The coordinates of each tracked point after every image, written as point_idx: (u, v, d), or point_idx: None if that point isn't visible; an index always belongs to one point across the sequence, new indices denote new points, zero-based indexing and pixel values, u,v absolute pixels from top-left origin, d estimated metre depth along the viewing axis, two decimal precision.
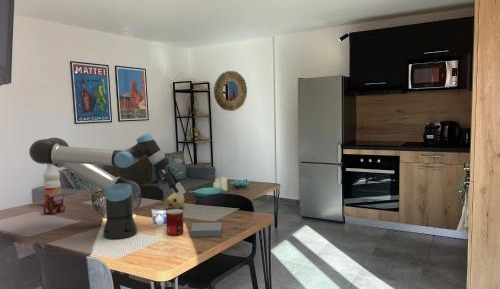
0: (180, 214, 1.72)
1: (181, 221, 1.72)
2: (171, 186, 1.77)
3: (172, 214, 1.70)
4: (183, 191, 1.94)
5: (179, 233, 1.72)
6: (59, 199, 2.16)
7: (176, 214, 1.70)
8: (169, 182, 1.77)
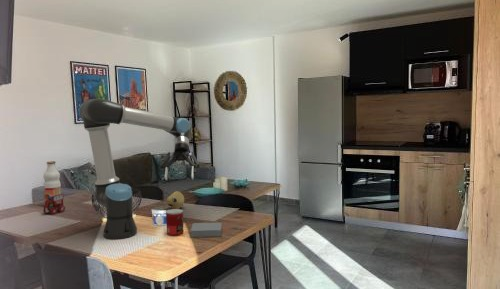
0: (180, 214, 1.71)
1: (181, 221, 1.72)
2: (199, 165, 1.92)
3: (172, 214, 1.70)
4: (166, 177, 1.88)
5: (179, 233, 1.72)
6: (59, 199, 2.16)
7: (176, 214, 1.70)
8: None
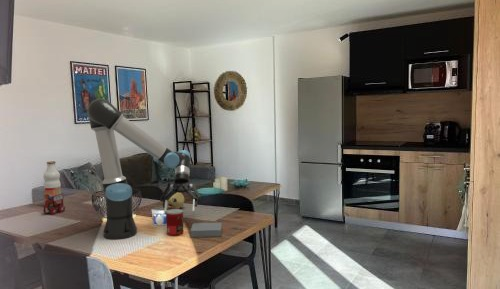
0: (180, 214, 1.72)
1: (181, 221, 1.72)
2: (200, 198, 1.83)
3: (172, 214, 1.70)
4: None
5: (179, 233, 1.72)
6: (59, 199, 2.16)
7: (176, 214, 1.70)
8: None
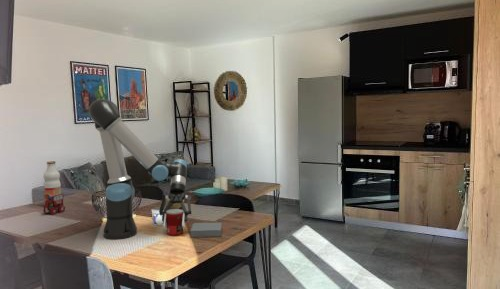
0: (180, 214, 1.71)
1: (181, 221, 1.72)
2: (190, 212, 1.76)
3: (172, 214, 1.70)
4: (165, 226, 1.72)
5: (179, 233, 1.72)
6: (59, 199, 2.16)
7: (176, 214, 1.70)
8: (190, 208, 1.77)
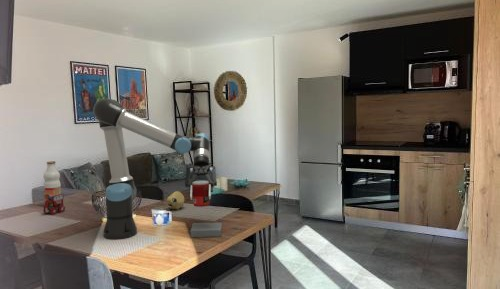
0: (206, 185, 1.71)
1: (207, 192, 1.72)
2: (216, 183, 1.75)
3: (199, 185, 1.70)
4: (192, 197, 1.72)
5: (206, 204, 1.72)
6: (59, 199, 2.16)
7: (203, 185, 1.70)
8: None
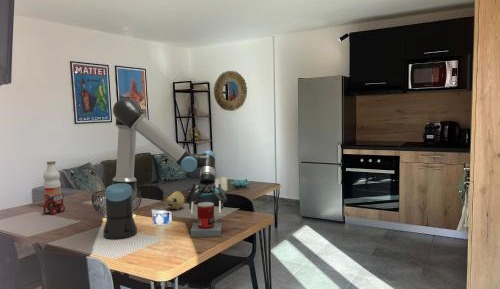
0: (211, 207, 1.72)
1: (212, 214, 1.73)
2: (226, 199, 1.77)
3: (204, 207, 1.71)
4: (192, 213, 1.73)
5: (211, 226, 1.72)
6: (59, 199, 2.16)
7: (208, 207, 1.71)
8: None
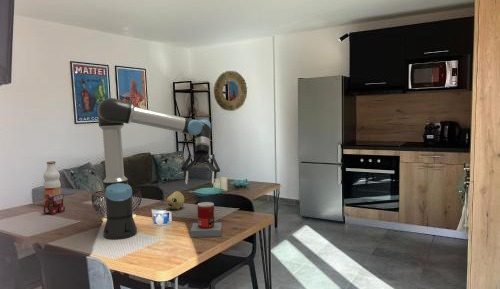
0: (212, 207, 1.72)
1: (212, 214, 1.73)
2: (219, 170, 1.91)
3: (204, 207, 1.71)
4: (187, 182, 1.89)
5: (211, 226, 1.72)
6: (59, 199, 2.16)
7: (208, 207, 1.71)
8: (218, 166, 1.92)
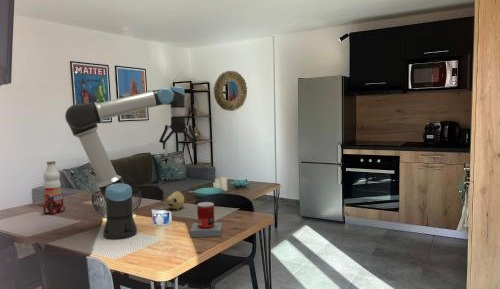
0: (212, 207, 1.72)
1: (212, 214, 1.73)
2: None
3: (204, 207, 1.71)
4: None
5: (211, 226, 1.72)
6: (59, 199, 2.16)
7: (208, 207, 1.71)
8: (195, 137, 1.97)
